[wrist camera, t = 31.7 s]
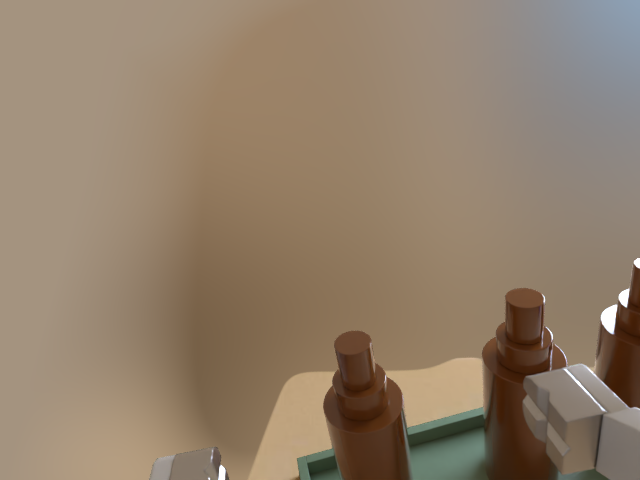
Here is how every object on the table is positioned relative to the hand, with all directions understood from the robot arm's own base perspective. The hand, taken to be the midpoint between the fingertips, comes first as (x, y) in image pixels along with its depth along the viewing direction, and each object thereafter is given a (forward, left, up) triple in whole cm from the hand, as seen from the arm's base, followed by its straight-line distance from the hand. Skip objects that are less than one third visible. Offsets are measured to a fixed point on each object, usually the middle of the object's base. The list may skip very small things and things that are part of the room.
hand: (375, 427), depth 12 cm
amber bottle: (+2, +14, -26) cm, 29 cm away
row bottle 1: (+14, +15, -26) cm, 32 cm away
